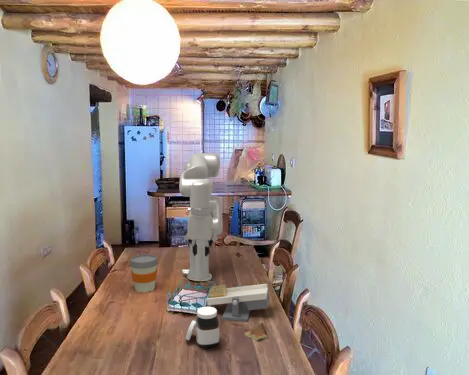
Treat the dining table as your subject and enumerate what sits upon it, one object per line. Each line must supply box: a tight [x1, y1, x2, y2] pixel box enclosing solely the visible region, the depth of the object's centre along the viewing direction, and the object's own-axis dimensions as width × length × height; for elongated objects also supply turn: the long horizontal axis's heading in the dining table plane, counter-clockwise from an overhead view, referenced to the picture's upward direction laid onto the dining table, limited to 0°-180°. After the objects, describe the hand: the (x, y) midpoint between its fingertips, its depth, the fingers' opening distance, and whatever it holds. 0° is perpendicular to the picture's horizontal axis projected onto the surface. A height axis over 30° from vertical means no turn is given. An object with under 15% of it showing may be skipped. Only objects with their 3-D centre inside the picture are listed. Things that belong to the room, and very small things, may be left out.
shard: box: [244, 322, 269, 342], centre depth 145 cm, size 11×8×2 cm
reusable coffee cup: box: [130, 254, 158, 293], centre depth 185 cm, size 13×13×15 cm
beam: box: [206, 283, 270, 311], centre depth 162 cm, size 24×10×6 cm, turn 81°
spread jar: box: [185, 306, 220, 348], centre depth 138 cm, size 12×11×12 cm
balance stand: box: [221, 284, 251, 322], centre depth 162 cm, size 10×17×8 cm, turn 171°
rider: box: [208, 283, 227, 298], centre depth 163 cm, size 6×6×4 cm
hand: (201, 254), depth 162 cm, fingers open, 4 cm apart
